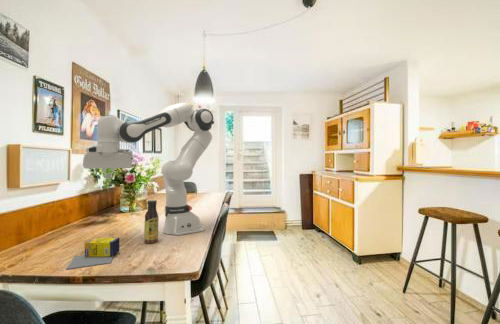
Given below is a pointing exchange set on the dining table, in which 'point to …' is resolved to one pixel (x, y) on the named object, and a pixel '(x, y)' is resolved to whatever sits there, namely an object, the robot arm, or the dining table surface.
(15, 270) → the dining table surface
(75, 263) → the slate pad
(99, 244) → the supplement box
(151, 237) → the sauce bottle
